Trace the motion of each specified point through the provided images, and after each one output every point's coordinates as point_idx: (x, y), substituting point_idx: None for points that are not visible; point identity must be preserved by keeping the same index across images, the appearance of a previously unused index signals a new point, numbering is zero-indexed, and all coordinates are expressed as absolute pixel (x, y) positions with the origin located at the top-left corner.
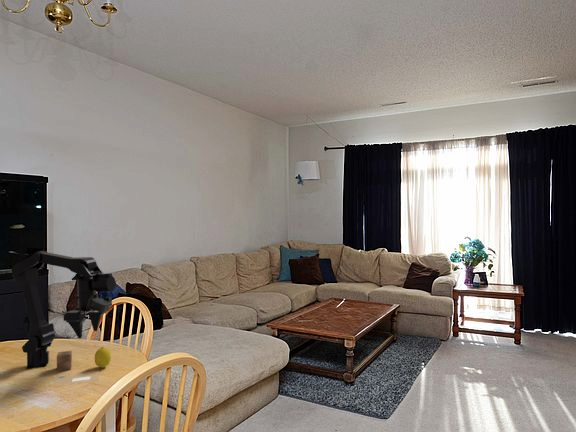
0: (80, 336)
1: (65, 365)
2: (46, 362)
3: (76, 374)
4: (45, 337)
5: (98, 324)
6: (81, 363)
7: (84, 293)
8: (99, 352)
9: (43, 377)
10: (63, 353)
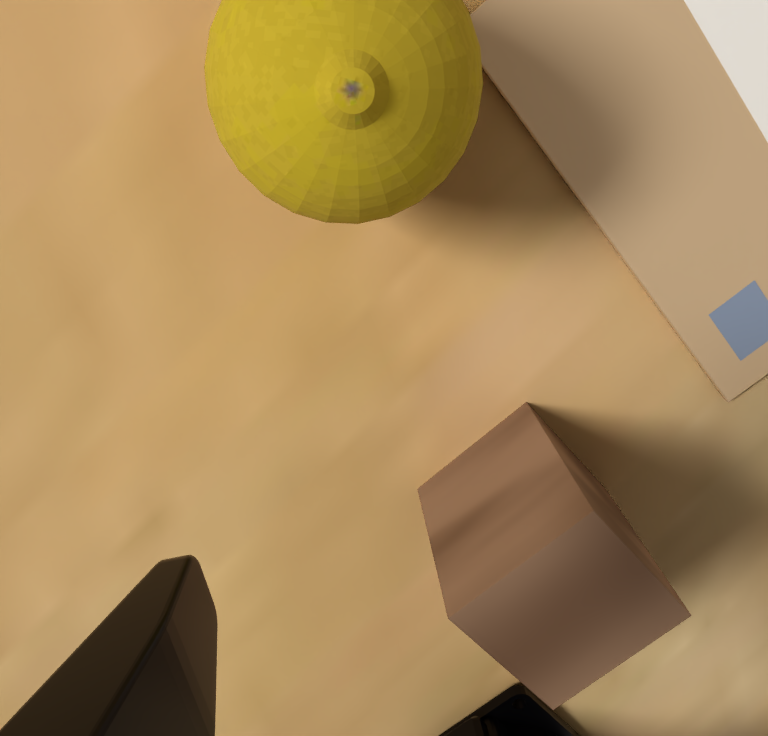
0: None
1: (580, 473)
2: (486, 733)
3: (645, 225)
4: None
5: (58, 699)
6: (298, 474)
7: None
8: (465, 65)
9: (747, 498)
10: (578, 623)
